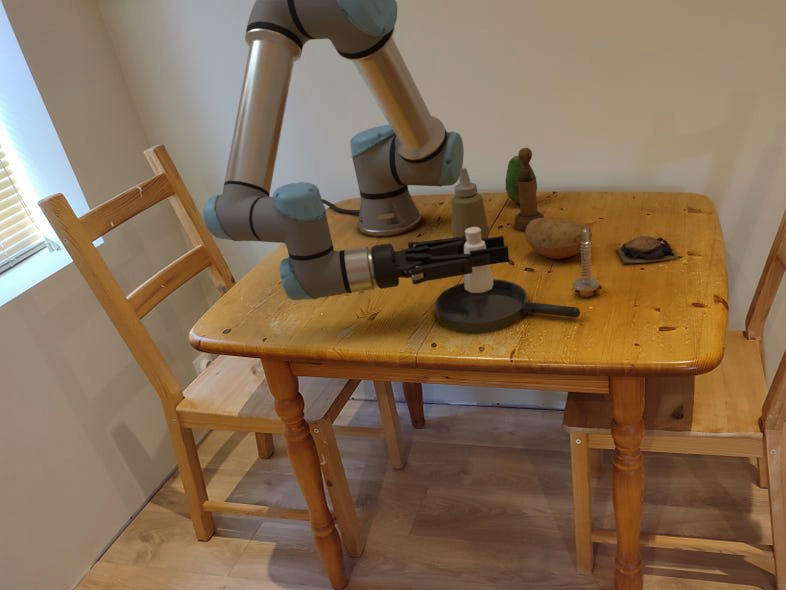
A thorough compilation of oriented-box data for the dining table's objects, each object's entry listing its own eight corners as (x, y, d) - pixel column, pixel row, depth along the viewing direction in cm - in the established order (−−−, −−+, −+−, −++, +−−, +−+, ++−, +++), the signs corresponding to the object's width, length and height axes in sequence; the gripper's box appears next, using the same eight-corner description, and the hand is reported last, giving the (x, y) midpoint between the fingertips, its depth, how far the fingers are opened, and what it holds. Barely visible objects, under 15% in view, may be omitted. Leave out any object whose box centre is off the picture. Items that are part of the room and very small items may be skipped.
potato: (584, 269, 130) (583, 232, 126) (519, 262, 136) (516, 226, 132) (599, 250, 137) (598, 213, 133) (537, 244, 143) (535, 209, 139)
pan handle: (519, 313, 116) (518, 304, 115) (523, 307, 118) (523, 299, 117) (578, 320, 112) (578, 311, 111) (581, 314, 114) (581, 305, 113)
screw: (574, 300, 120) (572, 288, 124) (601, 298, 119) (597, 286, 123) (572, 234, 113) (570, 224, 117) (601, 232, 112) (597, 221, 116)
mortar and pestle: (511, 230, 151) (505, 152, 141) (520, 220, 156) (515, 144, 146) (539, 232, 149) (534, 152, 139) (547, 221, 154) (543, 144, 144)
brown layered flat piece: (623, 266, 130) (623, 249, 128) (615, 249, 137) (615, 233, 135) (677, 260, 129) (678, 243, 127) (666, 244, 136) (667, 227, 134)
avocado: (508, 198, 170) (505, 152, 163) (538, 197, 168) (536, 150, 162) (505, 209, 163) (501, 162, 157) (536, 208, 162) (534, 160, 155)
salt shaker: (484, 295, 115) (477, 237, 109) (458, 290, 117) (451, 233, 112) (499, 282, 119) (494, 225, 113) (474, 278, 121) (468, 221, 115)
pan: (420, 326, 118) (418, 316, 116) (459, 284, 130) (458, 275, 129) (508, 338, 111) (507, 328, 110) (540, 293, 124) (540, 283, 123)
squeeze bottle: (496, 243, 146) (489, 163, 136) (481, 258, 140) (472, 175, 130) (464, 240, 149) (454, 162, 139) (448, 255, 143) (437, 174, 133)
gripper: (377, 267, 123) (500, 250, 124) (377, 309, 108) (515, 288, 110) (370, 230, 119) (496, 212, 120) (368, 267, 104) (512, 246, 106)
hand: (505, 248), depth 115 cm, fingers closed on salt shaker, 4 cm apart
